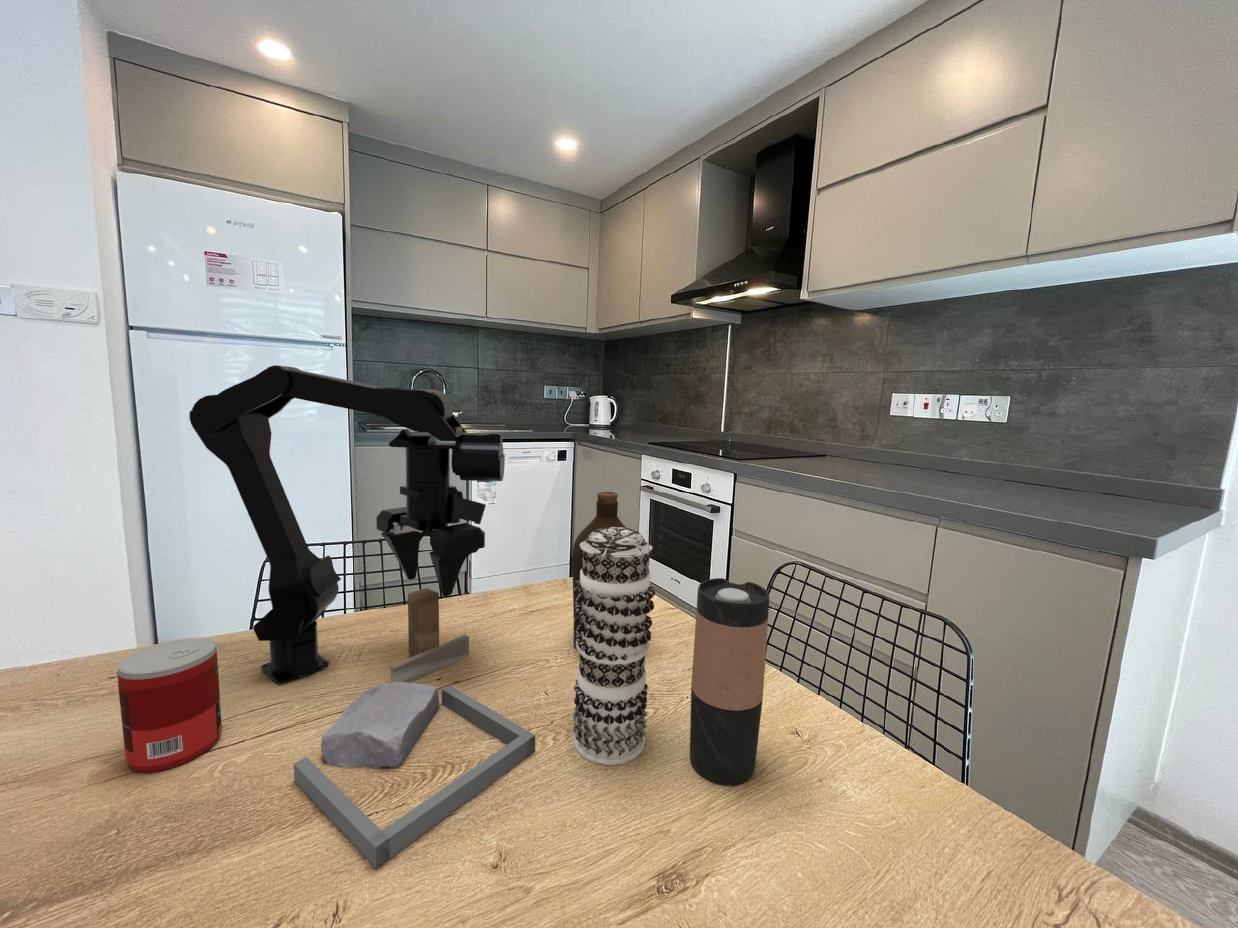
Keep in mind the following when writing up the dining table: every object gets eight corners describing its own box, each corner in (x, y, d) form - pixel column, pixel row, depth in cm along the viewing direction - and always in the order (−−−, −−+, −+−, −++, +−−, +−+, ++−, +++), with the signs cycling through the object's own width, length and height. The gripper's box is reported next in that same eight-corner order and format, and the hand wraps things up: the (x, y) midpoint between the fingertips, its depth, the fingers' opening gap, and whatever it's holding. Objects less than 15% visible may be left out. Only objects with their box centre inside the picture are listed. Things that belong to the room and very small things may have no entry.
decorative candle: (583, 776, 54) (590, 547, 51) (560, 724, 62) (565, 524, 59) (661, 757, 57) (672, 540, 54) (629, 709, 66) (637, 520, 62)
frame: (294, 781, 52) (293, 763, 51) (449, 699, 66) (449, 684, 66) (376, 868, 43) (375, 847, 42) (535, 751, 57) (535, 734, 57)
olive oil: (640, 659, 79) (648, 500, 75) (572, 662, 77) (576, 500, 74) (628, 628, 89) (634, 487, 86) (567, 630, 87) (571, 487, 84)
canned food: (238, 734, 58) (232, 644, 57) (156, 783, 51) (147, 680, 49) (193, 719, 61) (186, 631, 59) (108, 763, 53) (98, 664, 52)
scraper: (379, 678, 71) (377, 603, 69) (452, 646, 80) (452, 579, 79) (395, 689, 68) (393, 611, 67) (468, 655, 78) (468, 586, 77)
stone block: (314, 783, 54) (406, 771, 54) (305, 741, 54) (396, 728, 53) (371, 718, 66) (446, 707, 65) (364, 683, 65) (439, 671, 65)
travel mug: (715, 797, 52) (728, 609, 49) (673, 750, 58) (683, 582, 56) (772, 774, 55) (786, 597, 53) (726, 732, 62) (737, 573, 59)
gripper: (517, 482, 72) (515, 589, 74) (441, 467, 83) (442, 559, 85) (447, 491, 63) (447, 612, 65) (373, 473, 74) (375, 576, 76)
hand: (428, 586), depth 73 cm, fingers open, 9 cm apart
